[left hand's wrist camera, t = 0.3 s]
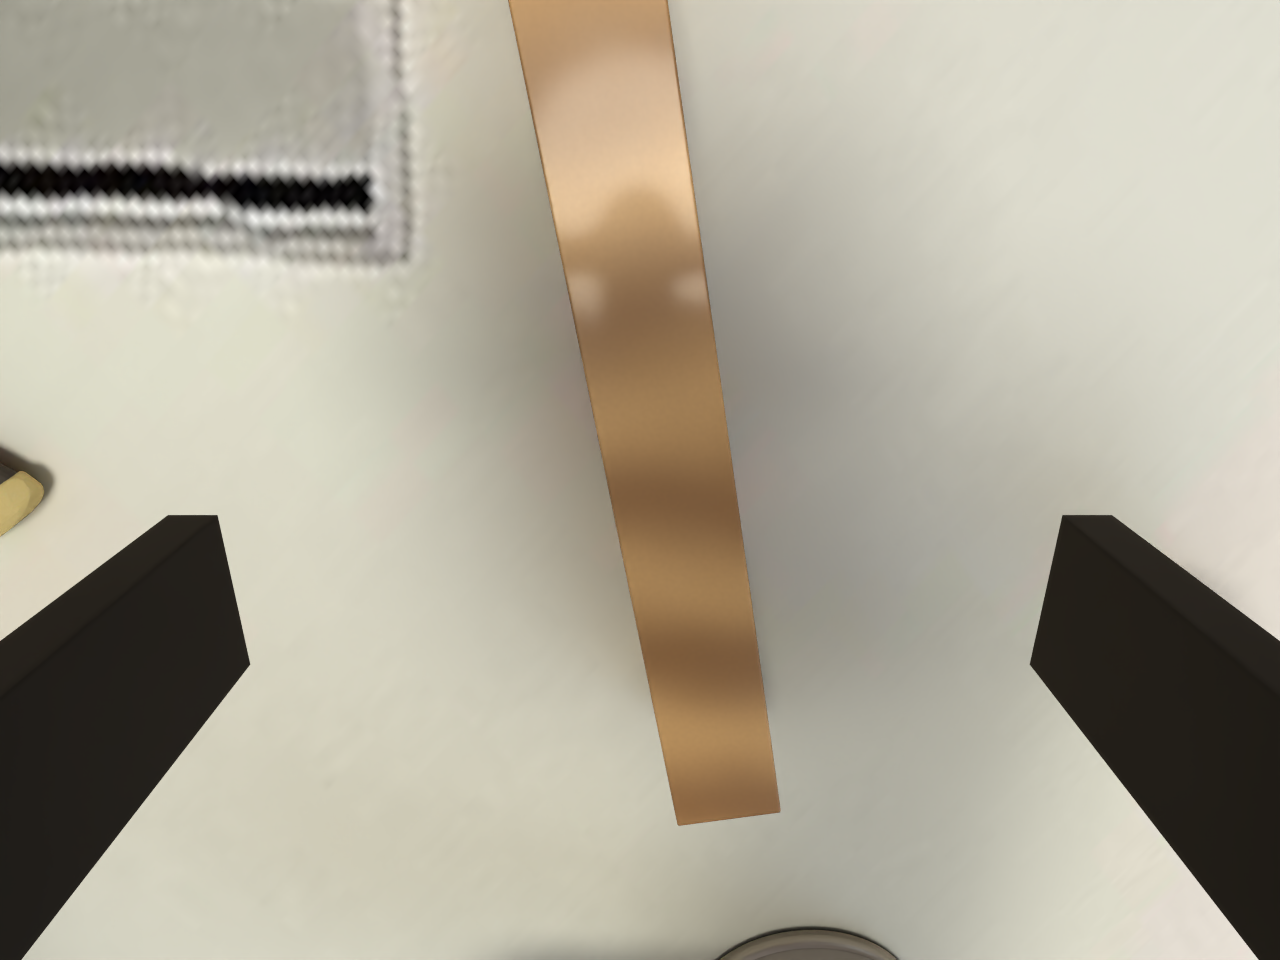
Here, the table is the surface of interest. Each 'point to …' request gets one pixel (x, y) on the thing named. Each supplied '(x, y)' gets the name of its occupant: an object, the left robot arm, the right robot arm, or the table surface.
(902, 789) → the table surface
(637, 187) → the bar
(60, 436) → the table surface
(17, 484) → the toy gun
